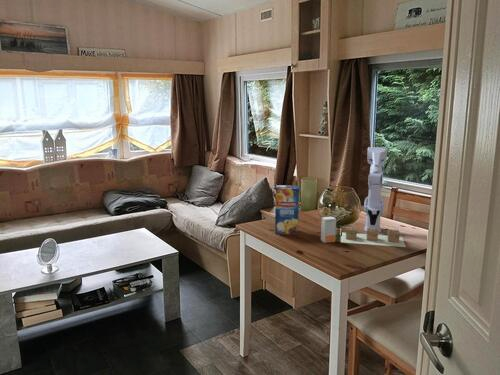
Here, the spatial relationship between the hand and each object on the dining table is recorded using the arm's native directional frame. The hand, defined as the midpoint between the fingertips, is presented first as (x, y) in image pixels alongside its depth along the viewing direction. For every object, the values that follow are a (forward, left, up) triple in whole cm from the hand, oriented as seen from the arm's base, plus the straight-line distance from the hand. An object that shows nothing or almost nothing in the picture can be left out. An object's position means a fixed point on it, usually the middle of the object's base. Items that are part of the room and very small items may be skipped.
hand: (372, 224), depth 213 cm
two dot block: (0, -10, -7) cm, 12 cm away
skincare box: (+7, -21, -8) cm, 24 cm away
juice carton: (-4, -43, -8) cm, 44 cm away
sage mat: (0, 0, -8) cm, 8 cm away
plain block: (0, 0, -7) cm, 7 cm away
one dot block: (0, +10, -7) cm, 12 cm away
